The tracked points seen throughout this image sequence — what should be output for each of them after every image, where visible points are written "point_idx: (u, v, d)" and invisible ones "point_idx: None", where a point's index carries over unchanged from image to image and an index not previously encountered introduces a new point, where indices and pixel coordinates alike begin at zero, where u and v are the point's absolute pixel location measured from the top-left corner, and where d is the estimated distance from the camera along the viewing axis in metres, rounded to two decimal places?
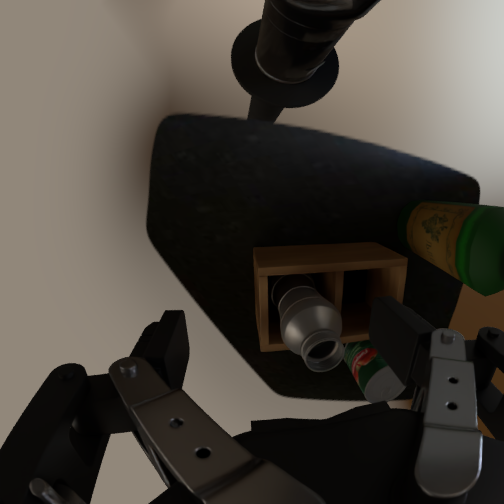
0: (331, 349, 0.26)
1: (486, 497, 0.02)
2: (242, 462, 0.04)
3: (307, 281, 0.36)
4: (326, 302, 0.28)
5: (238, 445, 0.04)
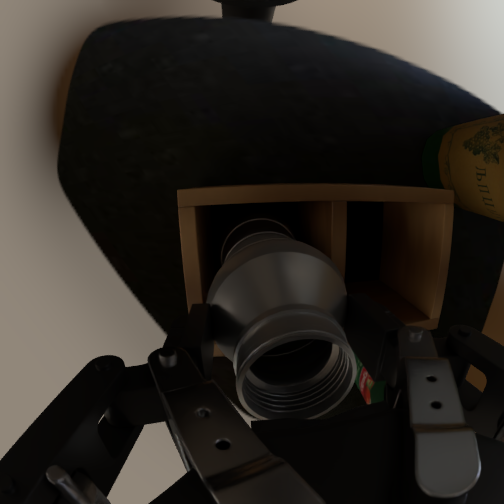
0: (321, 362, 0.10)
1: (486, 497, 0.02)
2: (259, 458, 0.04)
3: (280, 229, 0.20)
4: (309, 247, 0.12)
5: (238, 445, 0.04)
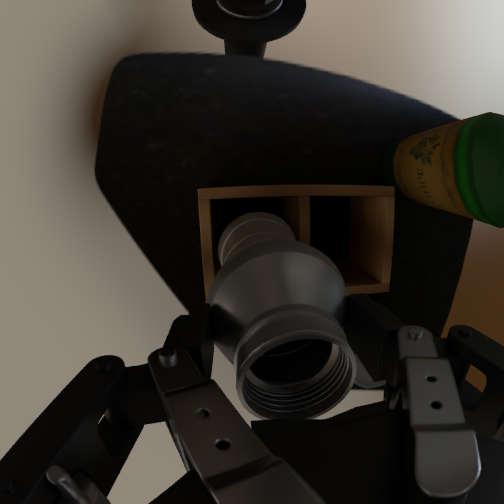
0: (321, 362, 0.10)
1: (486, 497, 0.02)
2: (259, 458, 0.04)
3: (280, 229, 0.20)
4: (309, 247, 0.12)
5: (238, 445, 0.04)
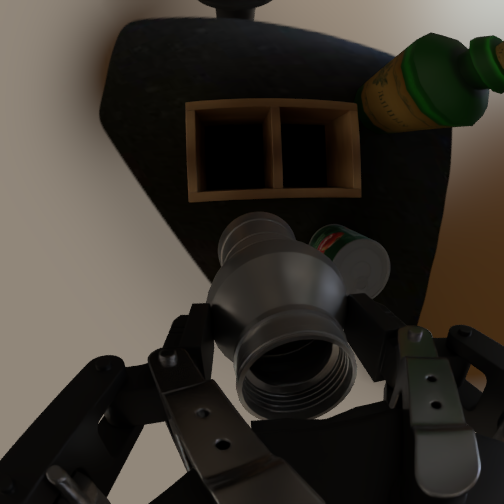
0: (321, 362, 0.10)
1: (486, 497, 0.02)
2: (259, 458, 0.04)
3: (280, 229, 0.20)
4: (309, 247, 0.12)
5: (238, 445, 0.04)
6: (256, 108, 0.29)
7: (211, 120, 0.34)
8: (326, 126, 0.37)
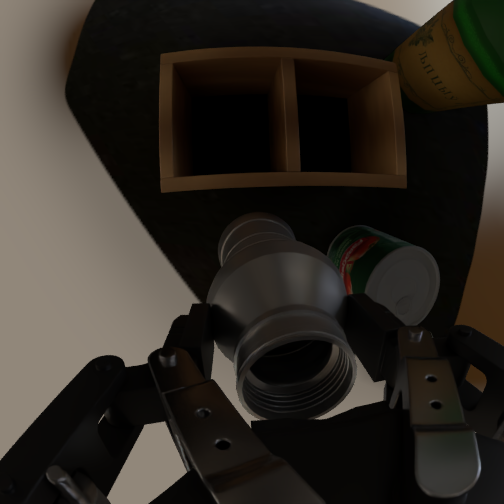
0: (321, 362, 0.10)
1: (486, 497, 0.02)
2: (259, 458, 0.04)
3: (280, 229, 0.20)
4: (309, 247, 0.12)
5: (238, 445, 0.04)
6: (260, 61, 0.19)
7: (199, 85, 0.24)
8: (349, 99, 0.27)
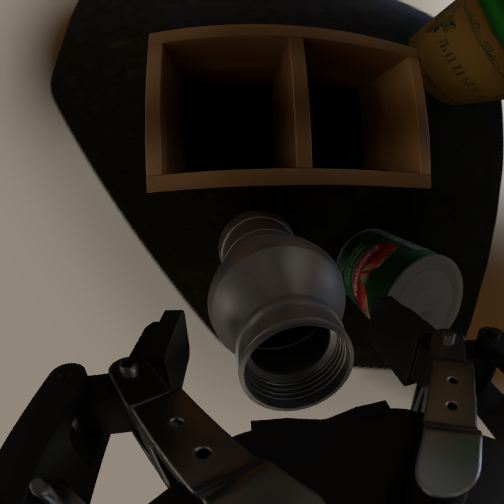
0: (320, 352, 0.11)
1: (486, 497, 0.02)
2: (242, 462, 0.04)
3: (279, 226, 0.21)
4: (307, 242, 0.13)
5: (238, 445, 0.04)
6: (264, 40, 0.15)
7: (194, 71, 0.20)
8: (362, 90, 0.24)
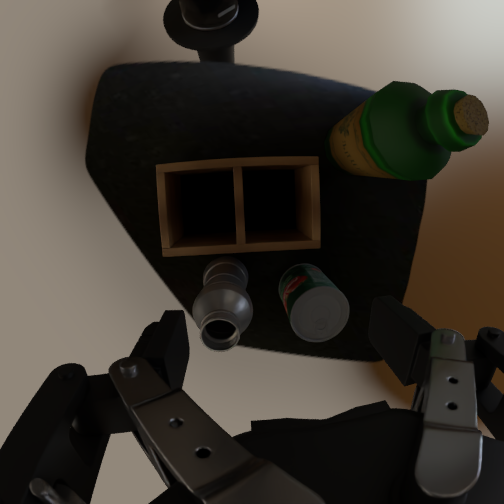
0: (234, 331, 0.28)
1: (486, 497, 0.02)
2: (242, 462, 0.04)
3: (233, 270, 0.38)
4: (233, 286, 0.30)
5: (238, 445, 0.04)
6: None
7: (184, 173, 0.38)
8: (295, 171, 0.41)
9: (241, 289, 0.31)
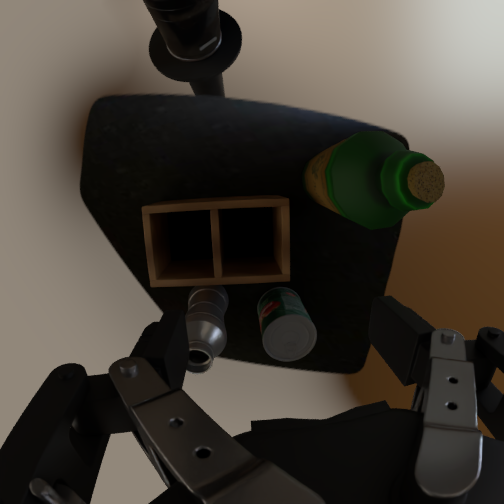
0: (209, 357, 0.32)
1: (486, 497, 0.02)
2: (242, 462, 0.04)
3: (213, 297, 0.42)
4: (209, 317, 0.34)
5: (238, 445, 0.04)
6: None
7: None
8: None
9: (216, 320, 0.35)
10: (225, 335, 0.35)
